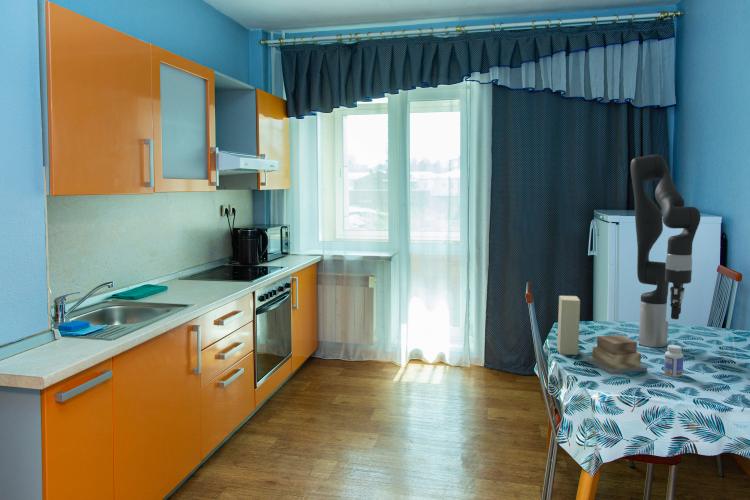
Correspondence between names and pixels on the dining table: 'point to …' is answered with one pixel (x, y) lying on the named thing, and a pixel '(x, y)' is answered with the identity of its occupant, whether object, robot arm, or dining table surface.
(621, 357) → the brown block
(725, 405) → the dining table surface
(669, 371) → the pill bottle
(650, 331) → the robot arm
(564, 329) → the tall beige block
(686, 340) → the dining table surface
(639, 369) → the base plate
